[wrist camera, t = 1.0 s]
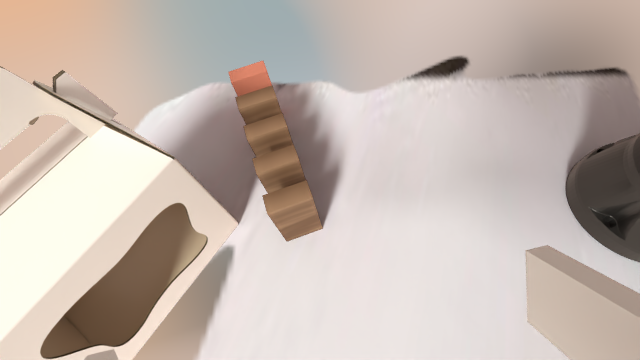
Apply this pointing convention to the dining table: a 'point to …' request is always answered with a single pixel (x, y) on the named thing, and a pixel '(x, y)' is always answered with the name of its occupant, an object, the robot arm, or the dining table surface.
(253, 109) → the domino
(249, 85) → the domino
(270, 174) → the domino
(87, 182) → the gable box
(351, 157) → the dining table surface
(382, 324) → the dining table surface
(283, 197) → the domino
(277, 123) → the domino
